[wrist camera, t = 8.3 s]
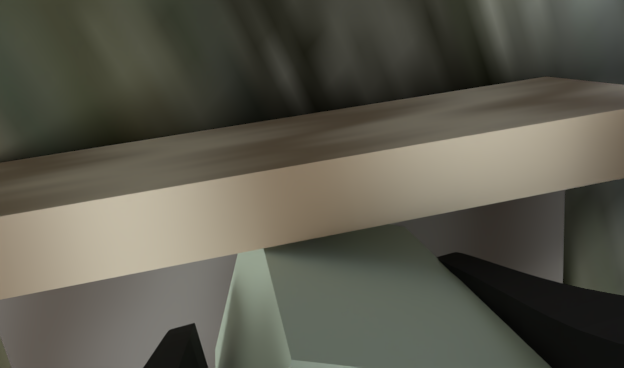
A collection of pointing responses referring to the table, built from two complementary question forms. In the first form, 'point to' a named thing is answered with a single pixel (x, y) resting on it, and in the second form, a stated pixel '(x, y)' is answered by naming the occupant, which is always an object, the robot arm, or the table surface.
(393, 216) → the cleat board
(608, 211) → the table surface
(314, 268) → the green block
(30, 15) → the table surface
